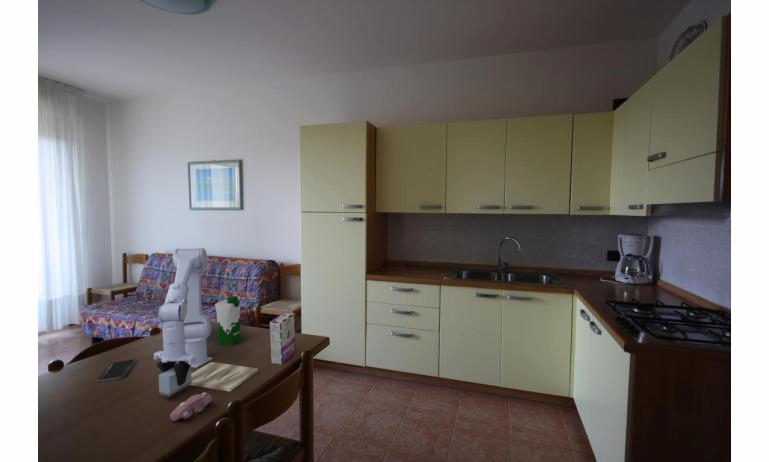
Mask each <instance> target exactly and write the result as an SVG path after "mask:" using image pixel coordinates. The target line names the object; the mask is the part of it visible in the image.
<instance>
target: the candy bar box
mask: <svg viewBox="0 0 769 462" xmlns="http://www.w3.org/2000/svg"><path fill="white" fill-rule="evenodd" d="M295 328H296V327H295V313H292V312H291V313H290V312H283V313H282V314H280V315H278V316H276V317H275V318H274V319H272V320H270V321H269V337H270V360H271V361H270V362H271V363H270V364H273V365H283V364H285V362H287V361H288V360H289V359H290V358H291V357H292V356H293V355H295V354H296V352H297V351H296V334H295V333H296V329H295Z"/></svg>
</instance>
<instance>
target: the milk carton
mask: <svg viewBox="0 0 769 462" xmlns="http://www.w3.org/2000/svg"><path fill="white" fill-rule="evenodd" d="M241 305H242V299H238V296H234V295H233V296H229V297H227V298H226V299H223V300H220V301H219V302H217V303H214V306H215V307H214V308H215V311H216V326H217V329H216V331H217V334H216V336H217V337H216V341H217V342H216V345H220V346H233V345H236V344H237V343H238V342H239V341H241V340H242V333H241V331H242V330H241Z"/></svg>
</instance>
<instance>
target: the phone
mask: <svg viewBox="0 0 769 462" xmlns="http://www.w3.org/2000/svg"><path fill="white" fill-rule="evenodd" d="M136 362H137V360H136V359H135V358H133V359H126V360H125V359H124V360H118V361H112V362H111V363H109V364H108V366H107V367H106V369H105V370H104V371H103V372H102V374H100V375H99V377H98V378H97V383H106V382H110V381H116V380H117V381H118V380H123V379H125V378H126V377H127V376H128V374H129V373H130V371H131V369H132V368H133V366H134V365H135V363H136Z"/></svg>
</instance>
